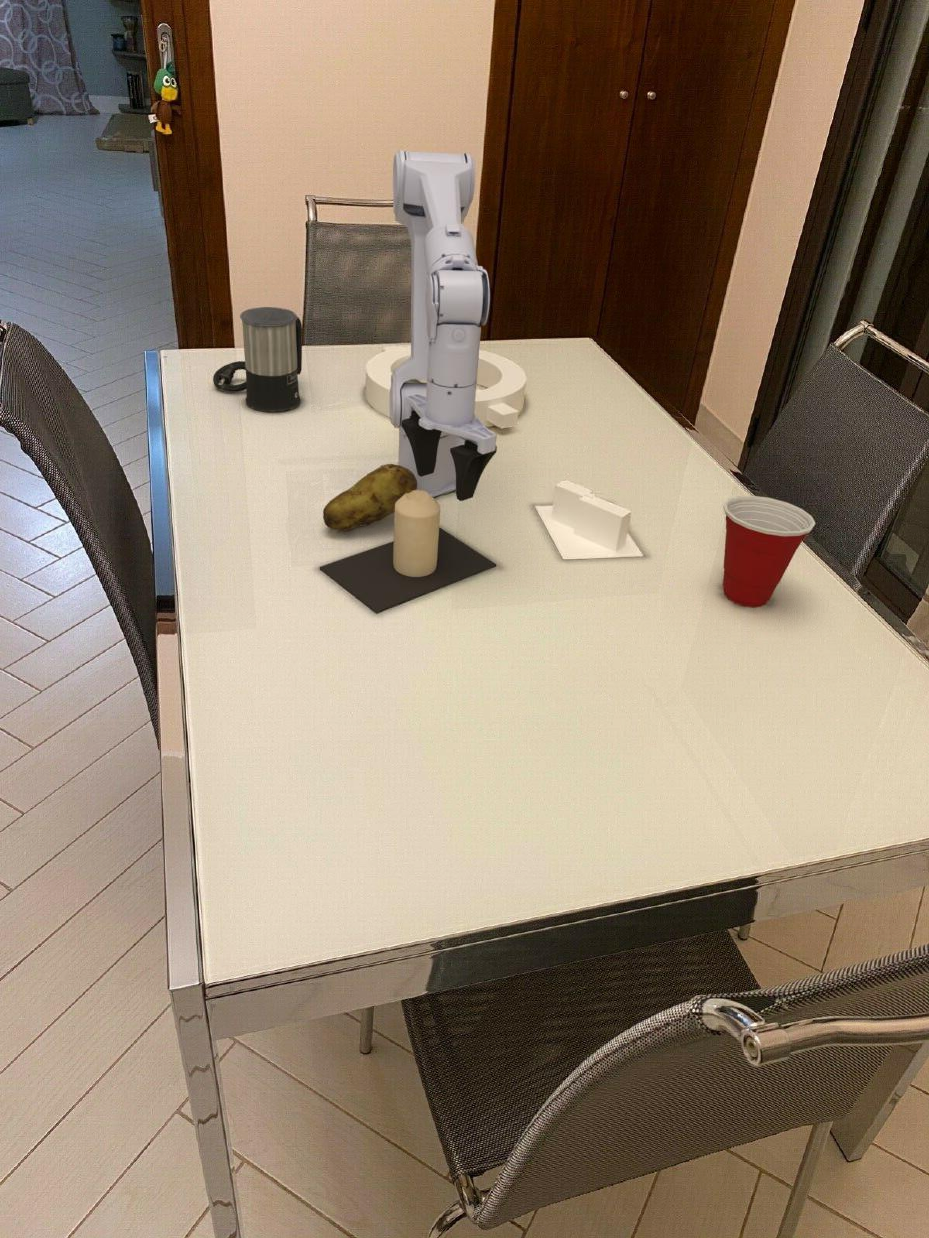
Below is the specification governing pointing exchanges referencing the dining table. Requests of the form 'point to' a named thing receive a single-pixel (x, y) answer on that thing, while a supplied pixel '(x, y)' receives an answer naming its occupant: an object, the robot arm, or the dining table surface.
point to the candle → (416, 534)
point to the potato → (369, 498)
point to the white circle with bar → (491, 403)
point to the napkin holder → (587, 524)
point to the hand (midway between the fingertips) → (445, 485)
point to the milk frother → (267, 360)
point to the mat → (387, 588)
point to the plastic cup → (760, 546)
